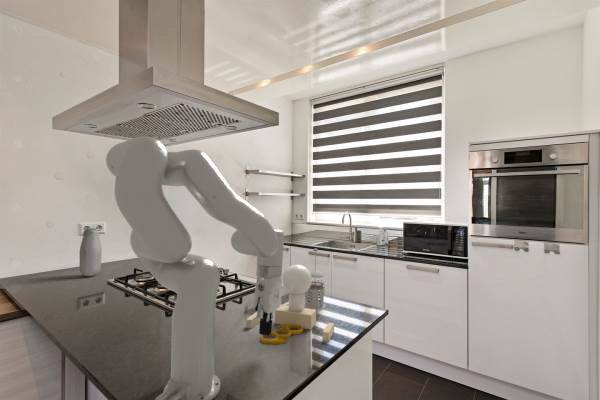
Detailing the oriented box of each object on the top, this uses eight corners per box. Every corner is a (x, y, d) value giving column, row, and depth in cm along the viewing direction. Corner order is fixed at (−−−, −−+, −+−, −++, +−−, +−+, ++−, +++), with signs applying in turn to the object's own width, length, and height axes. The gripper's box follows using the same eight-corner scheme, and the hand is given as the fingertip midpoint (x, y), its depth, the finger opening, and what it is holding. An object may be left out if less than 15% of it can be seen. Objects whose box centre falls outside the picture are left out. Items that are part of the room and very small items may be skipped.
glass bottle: (84, 274, 177) (85, 227, 177) (103, 273, 179) (104, 227, 179) (75, 278, 167) (77, 228, 167) (96, 277, 170) (97, 228, 170)
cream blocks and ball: (328, 341, 96) (329, 275, 96) (246, 327, 106) (247, 267, 106) (339, 322, 112) (339, 265, 112) (266, 311, 121) (267, 259, 122)
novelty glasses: (310, 334, 102) (291, 325, 110) (310, 329, 102) (292, 320, 110) (270, 349, 91) (253, 338, 99) (271, 344, 92) (253, 333, 99)
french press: (318, 301, 136) (319, 246, 136) (332, 309, 126) (333, 250, 126) (299, 304, 132) (300, 247, 132) (312, 312, 121) (313, 251, 122)
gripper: (270, 276, 80) (265, 346, 79) (290, 268, 94) (286, 327, 93) (245, 273, 83) (241, 341, 82) (268, 265, 97) (264, 323, 96)
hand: (265, 333), depth 87 cm, fingers closed
